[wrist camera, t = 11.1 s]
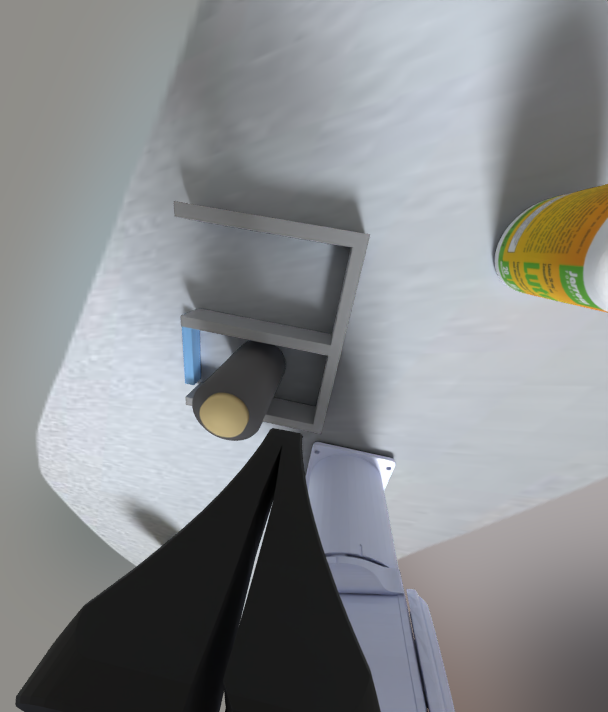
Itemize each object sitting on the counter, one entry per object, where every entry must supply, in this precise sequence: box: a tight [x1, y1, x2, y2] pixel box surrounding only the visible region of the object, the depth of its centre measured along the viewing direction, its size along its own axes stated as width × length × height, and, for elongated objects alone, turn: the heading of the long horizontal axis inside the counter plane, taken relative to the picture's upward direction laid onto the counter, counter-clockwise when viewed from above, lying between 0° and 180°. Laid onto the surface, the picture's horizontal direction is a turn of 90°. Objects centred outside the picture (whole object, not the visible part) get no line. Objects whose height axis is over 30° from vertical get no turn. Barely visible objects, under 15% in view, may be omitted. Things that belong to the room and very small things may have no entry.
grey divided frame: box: [174, 201, 370, 434], centre depth 18 cm, size 15×13×2 cm
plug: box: [192, 340, 286, 441], centre depth 17 cm, size 4×4×8 cm
